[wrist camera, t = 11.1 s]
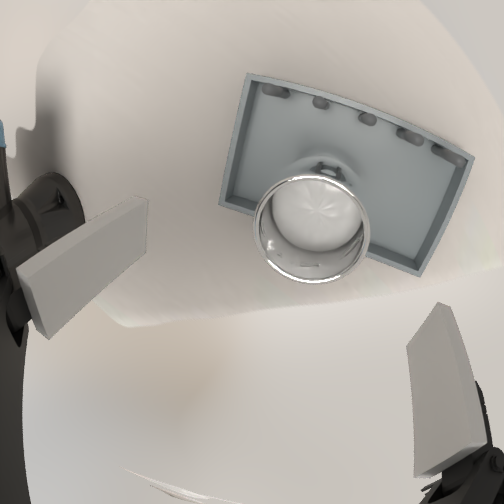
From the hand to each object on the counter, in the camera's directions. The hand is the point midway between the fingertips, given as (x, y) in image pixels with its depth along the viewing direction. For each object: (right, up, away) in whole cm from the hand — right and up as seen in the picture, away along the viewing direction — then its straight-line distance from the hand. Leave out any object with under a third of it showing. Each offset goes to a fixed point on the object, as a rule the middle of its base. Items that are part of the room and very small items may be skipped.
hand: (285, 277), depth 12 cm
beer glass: (+6, +9, +17) cm, 20 cm away
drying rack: (+8, +10, +17) cm, 21 cm away
